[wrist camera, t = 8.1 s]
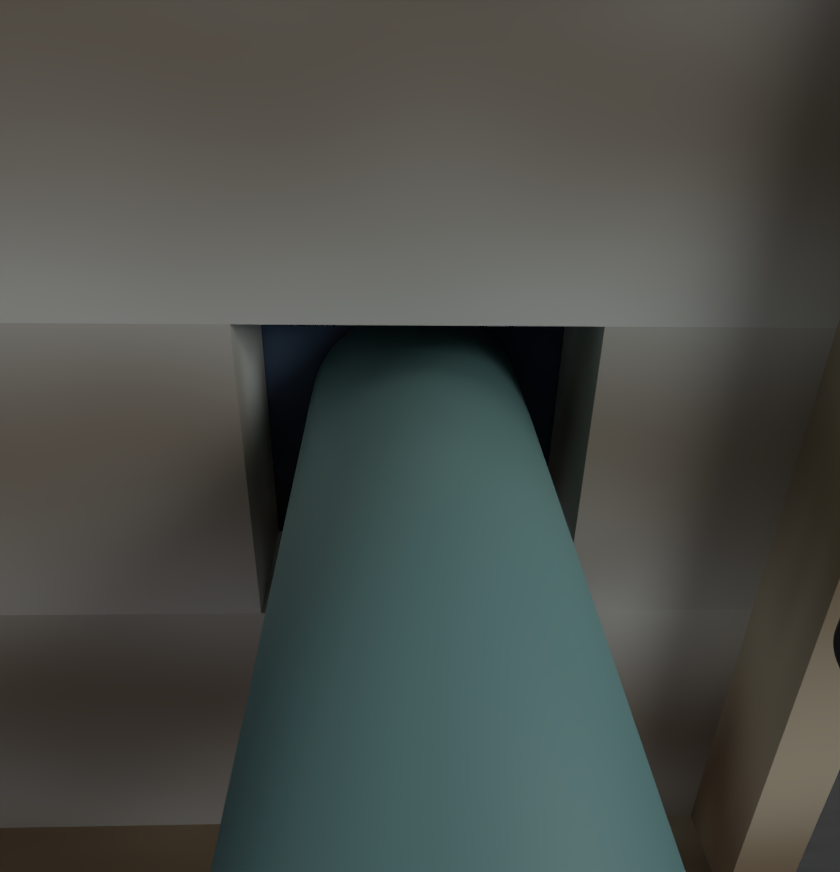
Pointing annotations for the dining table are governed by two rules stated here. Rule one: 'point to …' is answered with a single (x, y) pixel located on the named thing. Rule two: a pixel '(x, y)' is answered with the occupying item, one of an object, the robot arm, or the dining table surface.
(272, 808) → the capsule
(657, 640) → the tray
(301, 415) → the dining table surface
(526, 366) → the dining table surface
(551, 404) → the dining table surface
